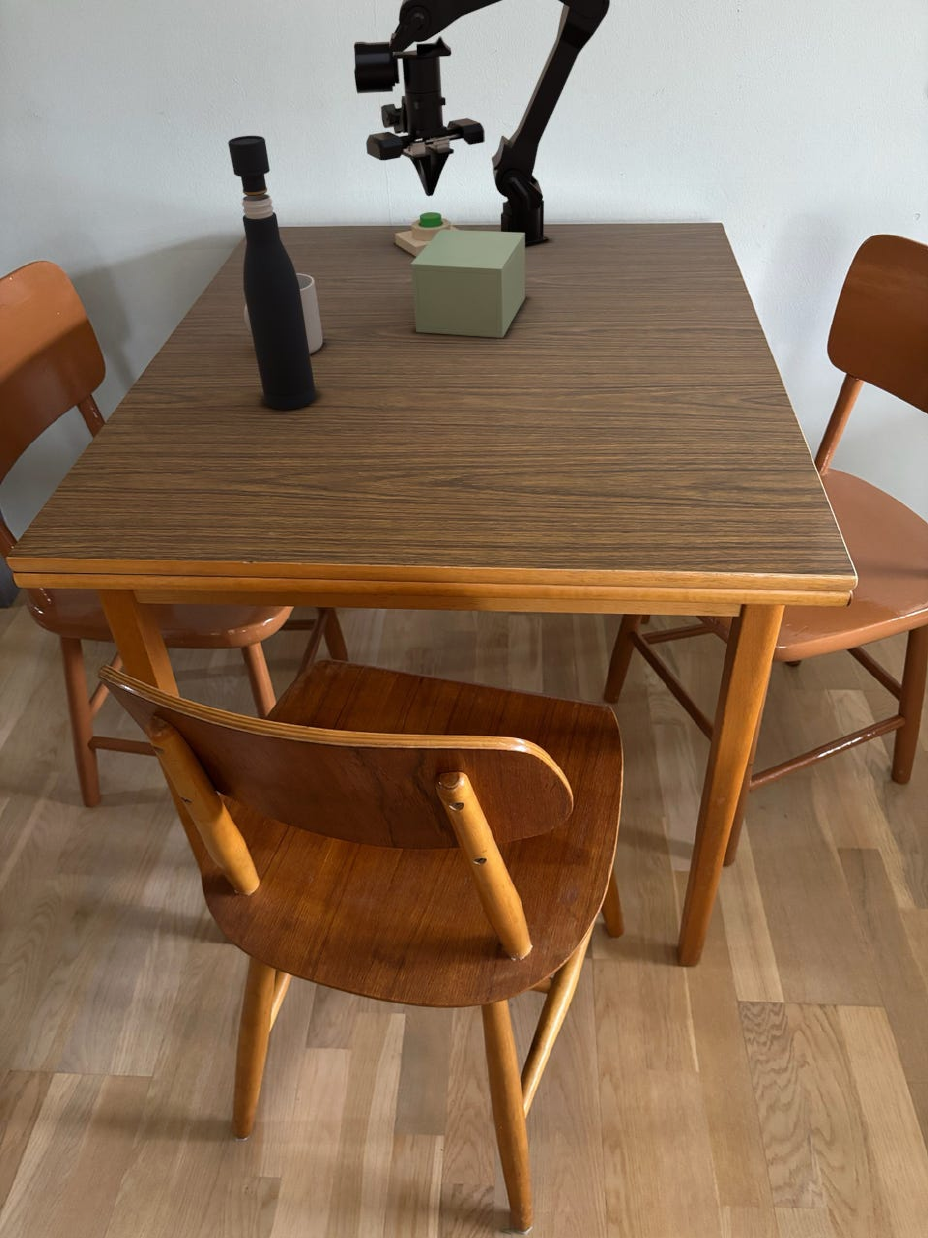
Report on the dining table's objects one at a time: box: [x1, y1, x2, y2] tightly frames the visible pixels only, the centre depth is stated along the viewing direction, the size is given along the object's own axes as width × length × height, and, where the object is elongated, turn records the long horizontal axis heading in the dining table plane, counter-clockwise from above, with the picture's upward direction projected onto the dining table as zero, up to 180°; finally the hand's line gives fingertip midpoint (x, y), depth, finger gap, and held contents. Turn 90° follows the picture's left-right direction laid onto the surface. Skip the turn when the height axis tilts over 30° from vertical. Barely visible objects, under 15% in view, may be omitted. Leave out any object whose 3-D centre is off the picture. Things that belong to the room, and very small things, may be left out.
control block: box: [394, 217, 459, 258], centre depth 163 cm, size 10×8×4 cm
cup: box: [243, 273, 324, 355], centre depth 130 cm, size 7×10×9 cm
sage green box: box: [410, 229, 526, 339], centre depth 136 cm, size 15×13×10 cm
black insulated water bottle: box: [227, 135, 317, 411], centre depth 111 cm, size 6×6×30 cm
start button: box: [419, 211, 442, 228], centre depth 161 cm, size 4×4×2 cm
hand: (429, 195), depth 158 cm, fingers closed
